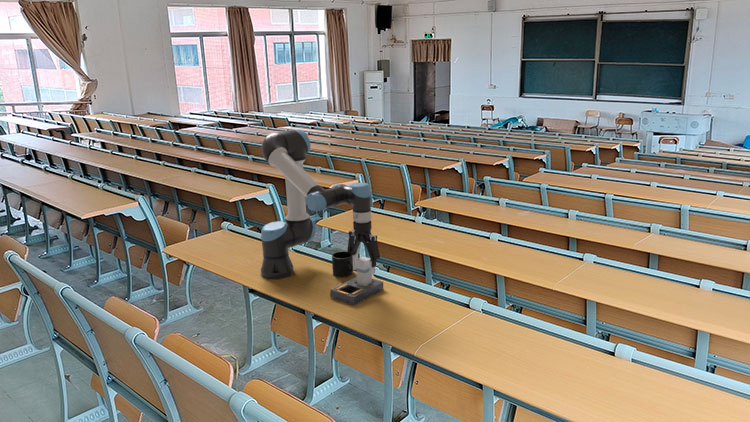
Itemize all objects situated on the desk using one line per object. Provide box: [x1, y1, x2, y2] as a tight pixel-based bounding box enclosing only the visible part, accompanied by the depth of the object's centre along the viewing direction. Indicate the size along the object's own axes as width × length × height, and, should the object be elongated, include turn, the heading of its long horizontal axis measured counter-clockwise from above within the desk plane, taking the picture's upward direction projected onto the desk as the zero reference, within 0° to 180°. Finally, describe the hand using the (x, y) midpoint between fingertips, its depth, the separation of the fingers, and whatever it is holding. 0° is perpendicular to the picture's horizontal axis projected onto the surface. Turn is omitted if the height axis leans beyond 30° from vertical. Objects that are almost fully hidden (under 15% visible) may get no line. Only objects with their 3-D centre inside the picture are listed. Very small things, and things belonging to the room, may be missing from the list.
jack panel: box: [330, 276, 384, 306], centre depth 233 cm, size 13×19×4 cm
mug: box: [331, 251, 354, 278], centre depth 252 cm, size 9×12×9 cm
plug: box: [355, 256, 373, 286], centre depth 235 cm, size 5×5×14 cm
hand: (364, 271), depth 234 cm, fingers open, 9 cm apart
